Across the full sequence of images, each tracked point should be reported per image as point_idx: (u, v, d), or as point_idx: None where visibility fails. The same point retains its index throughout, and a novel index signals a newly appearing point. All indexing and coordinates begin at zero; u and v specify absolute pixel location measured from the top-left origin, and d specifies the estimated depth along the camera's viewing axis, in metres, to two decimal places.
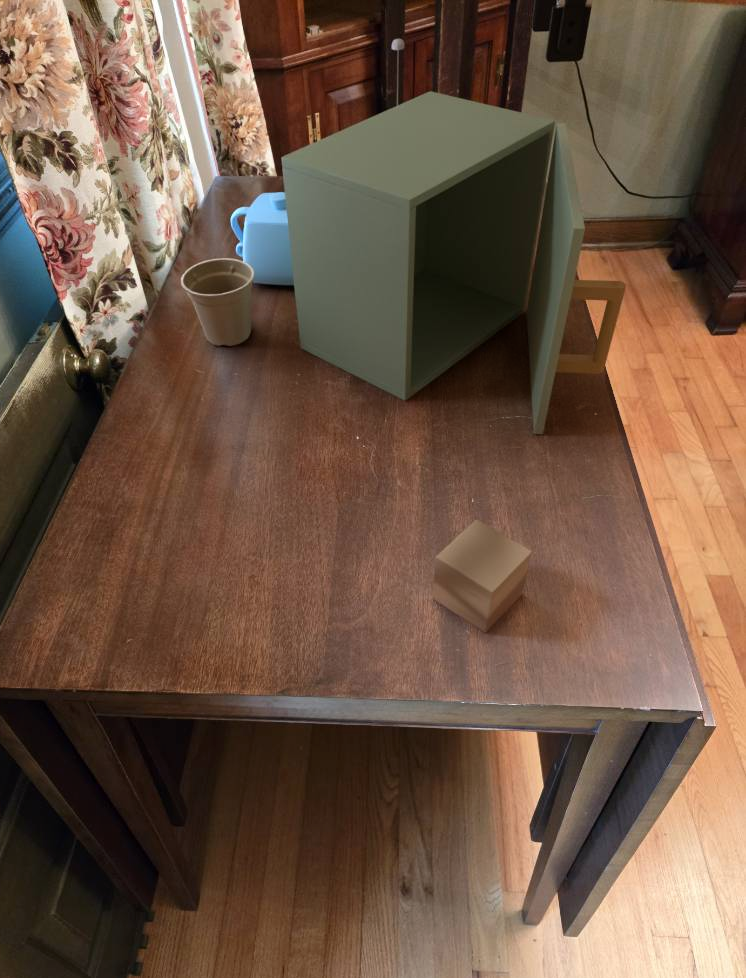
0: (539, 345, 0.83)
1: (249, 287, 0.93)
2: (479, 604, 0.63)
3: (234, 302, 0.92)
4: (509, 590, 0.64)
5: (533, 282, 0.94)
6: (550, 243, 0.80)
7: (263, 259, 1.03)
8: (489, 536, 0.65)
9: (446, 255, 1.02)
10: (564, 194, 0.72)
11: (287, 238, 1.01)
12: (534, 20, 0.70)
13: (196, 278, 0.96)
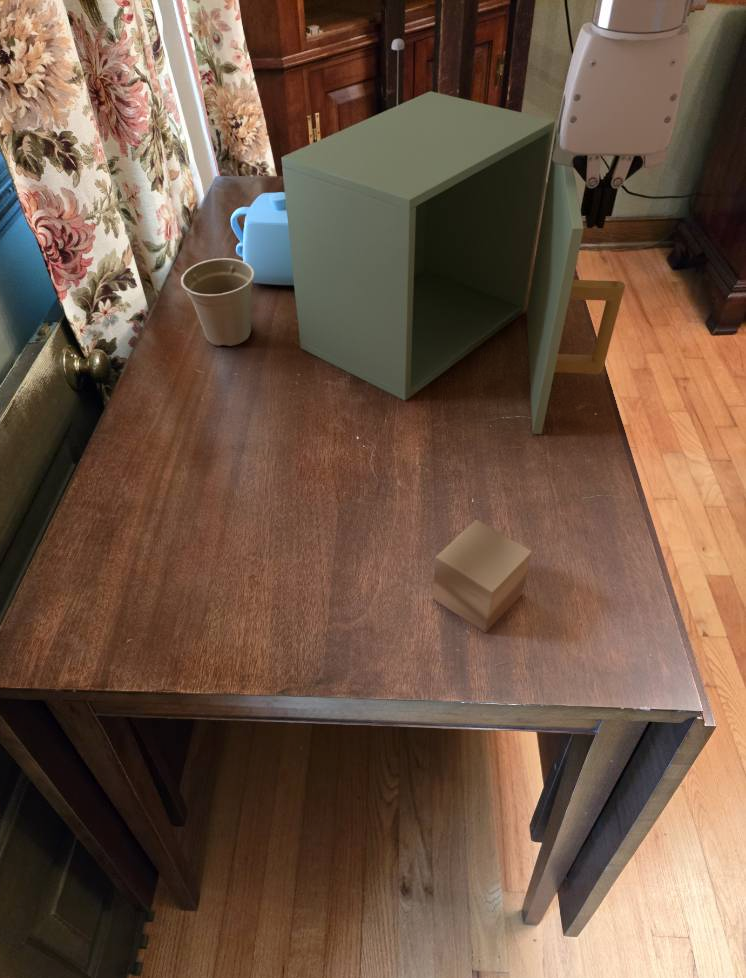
0: (538, 345, 0.83)
1: (249, 287, 0.93)
2: (479, 604, 0.63)
3: (234, 302, 0.92)
4: (509, 590, 0.64)
5: (533, 282, 0.94)
6: (549, 243, 0.80)
7: (263, 259, 1.03)
8: (489, 536, 0.65)
9: (446, 255, 1.02)
10: (563, 194, 0.72)
11: (287, 238, 1.01)
12: (594, 219, 0.74)
13: (196, 278, 0.96)
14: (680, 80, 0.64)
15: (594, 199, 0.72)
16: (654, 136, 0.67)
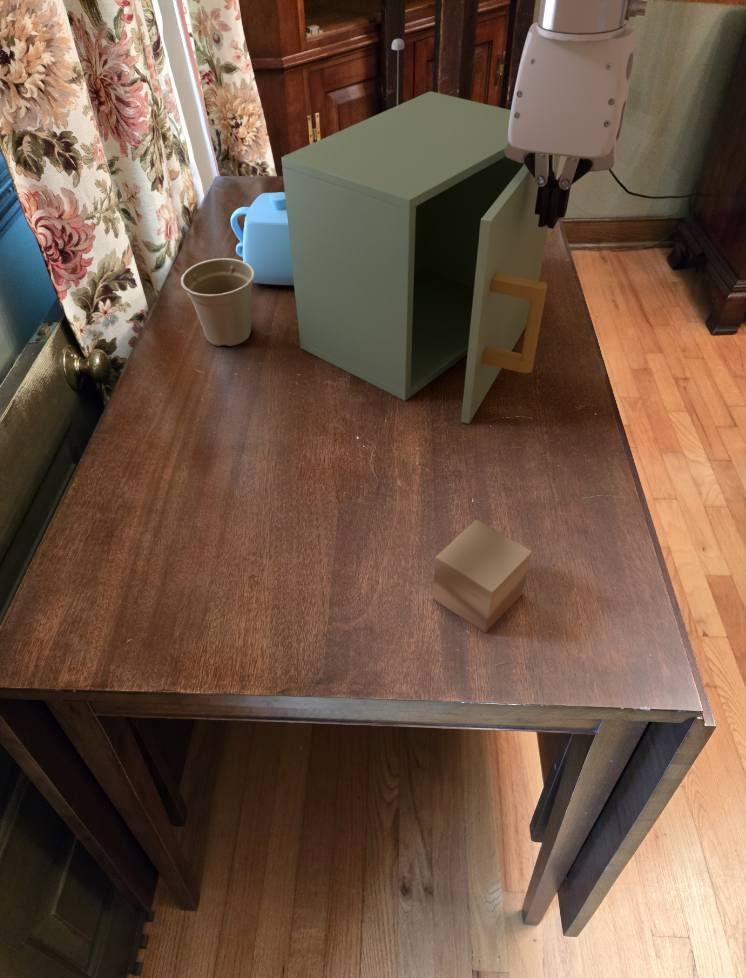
0: None
1: (249, 287, 0.93)
2: (479, 604, 0.63)
3: (234, 302, 0.92)
4: (509, 590, 0.64)
5: None
6: None
7: (263, 259, 1.03)
8: (489, 536, 0.65)
9: (446, 255, 1.02)
10: None
11: (287, 238, 1.01)
12: (544, 219, 0.74)
13: (196, 278, 0.96)
14: (618, 85, 0.63)
15: (542, 198, 0.73)
16: (595, 139, 0.67)
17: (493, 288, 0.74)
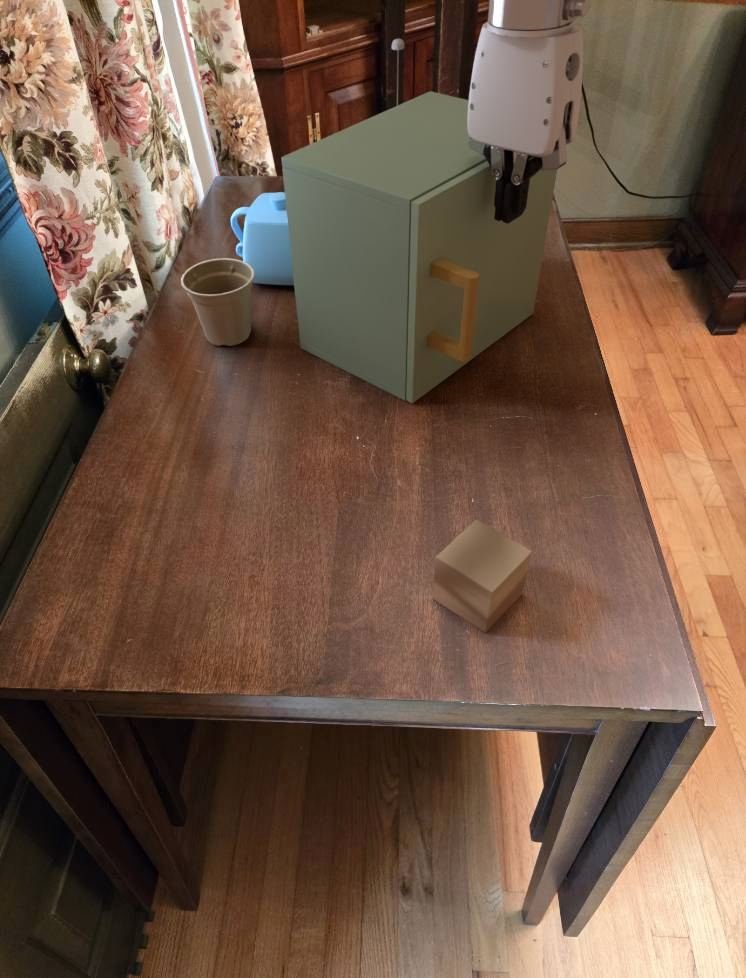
0: None
1: (249, 287, 0.93)
2: (479, 604, 0.63)
3: (234, 302, 0.92)
4: (509, 590, 0.64)
5: None
6: None
7: (263, 259, 1.03)
8: (489, 536, 0.65)
9: None
10: None
11: (287, 238, 1.01)
12: (500, 212, 0.76)
13: (196, 278, 0.96)
14: (555, 84, 0.64)
15: (497, 191, 0.74)
16: (537, 137, 0.68)
17: (433, 272, 0.76)
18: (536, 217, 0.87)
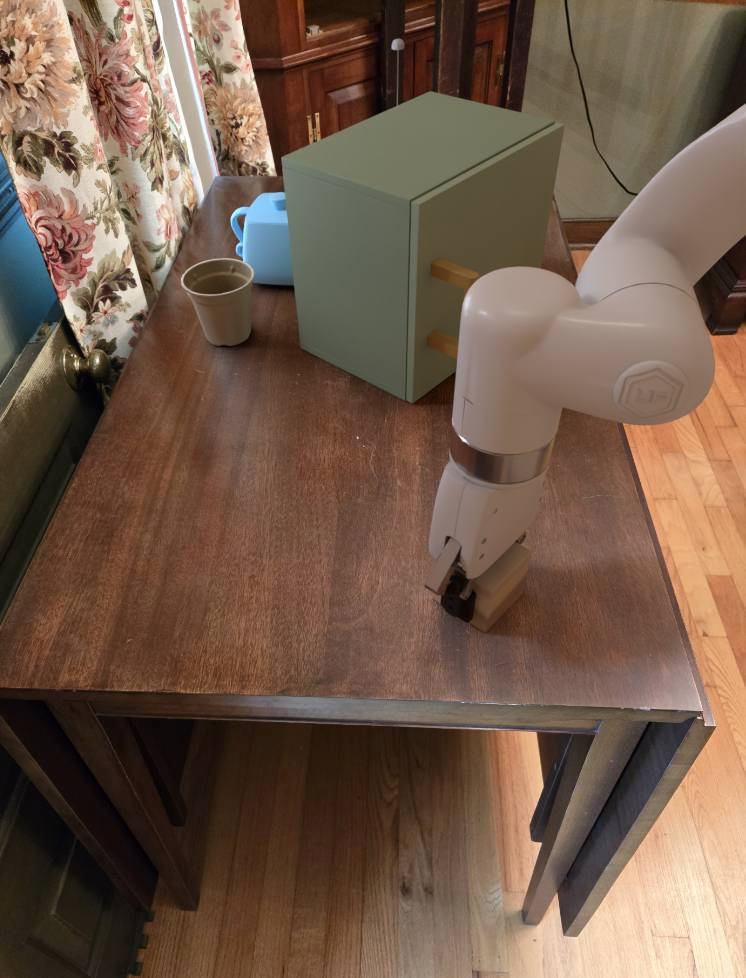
0: None
1: (249, 287, 0.93)
2: (479, 604, 0.63)
3: (235, 302, 0.92)
4: (509, 590, 0.64)
5: None
6: None
7: (263, 259, 1.03)
8: None
9: None
10: None
11: (287, 238, 1.01)
12: (472, 613, 0.64)
13: (196, 278, 0.96)
14: None
15: (472, 603, 0.62)
16: (532, 516, 0.61)
17: (433, 272, 0.76)
18: (536, 217, 0.87)
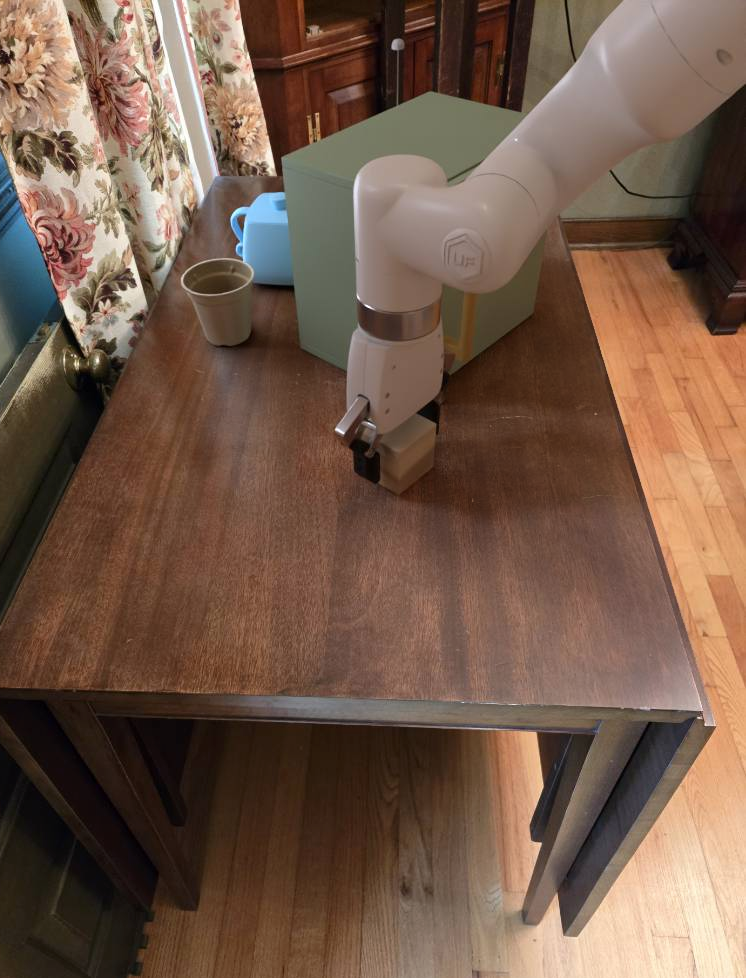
0: None
1: (249, 287, 0.93)
2: (391, 467, 0.75)
3: (234, 302, 0.92)
4: (418, 457, 0.76)
5: None
6: None
7: (263, 259, 1.03)
8: None
9: None
10: None
11: (287, 238, 1.01)
12: (379, 475, 0.74)
13: (196, 278, 0.96)
14: None
15: (377, 462, 0.73)
16: (436, 386, 0.73)
17: None
18: None
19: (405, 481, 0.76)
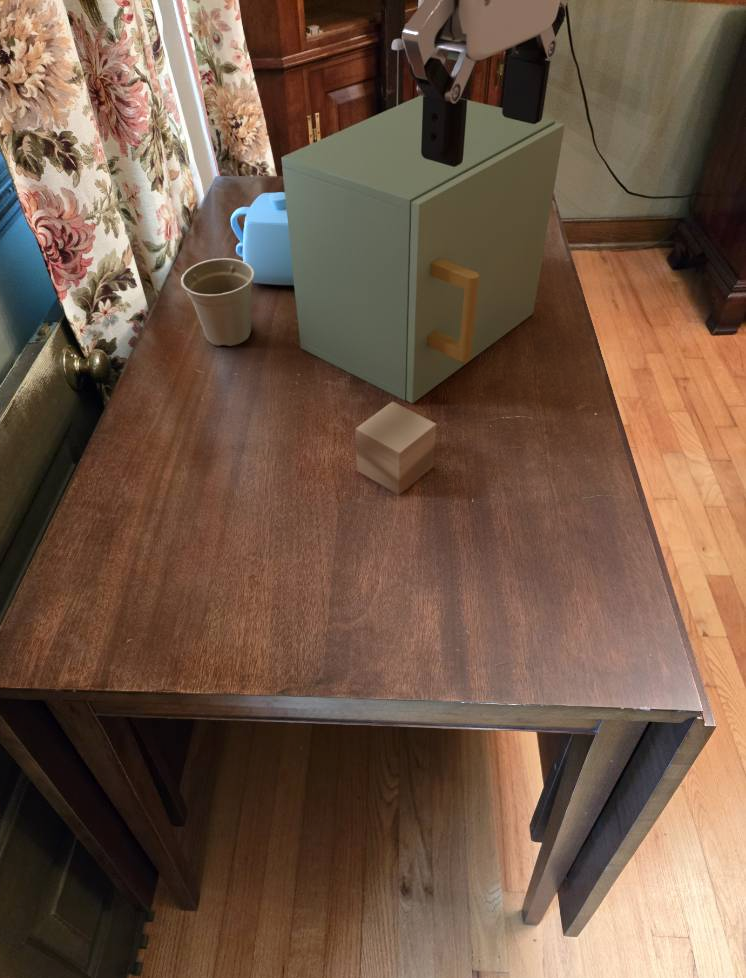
0: None
1: (249, 287, 0.93)
2: (391, 467, 0.75)
3: (235, 302, 0.92)
4: (418, 457, 0.76)
5: None
6: None
7: (263, 259, 1.03)
8: (402, 413, 0.77)
9: None
10: None
11: (287, 238, 1.01)
12: (462, 150, 0.49)
13: (196, 278, 0.96)
14: None
15: (461, 118, 0.47)
16: (552, 1, 0.47)
17: (433, 272, 0.76)
18: (536, 217, 0.87)
19: (405, 481, 0.76)
